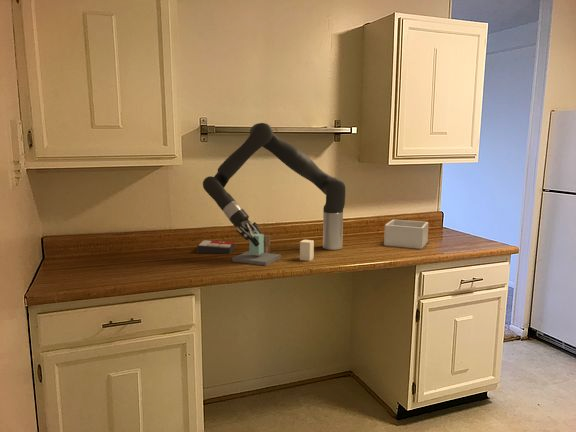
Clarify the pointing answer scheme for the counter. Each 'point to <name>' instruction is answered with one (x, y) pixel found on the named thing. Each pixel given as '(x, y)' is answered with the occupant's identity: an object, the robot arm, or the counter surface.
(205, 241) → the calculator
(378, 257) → the counter surface
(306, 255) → the cream block
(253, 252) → the teal block
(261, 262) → the grey flat slab
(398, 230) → the box
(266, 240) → the walnut block
